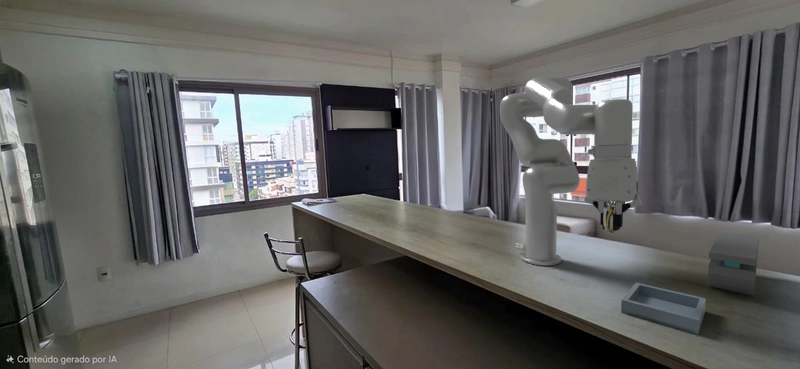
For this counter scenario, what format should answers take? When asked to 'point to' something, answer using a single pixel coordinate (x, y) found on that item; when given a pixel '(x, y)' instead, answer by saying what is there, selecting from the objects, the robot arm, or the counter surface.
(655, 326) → the counter surface
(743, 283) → the gray slotted box
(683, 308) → the tray
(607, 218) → the bracelet
